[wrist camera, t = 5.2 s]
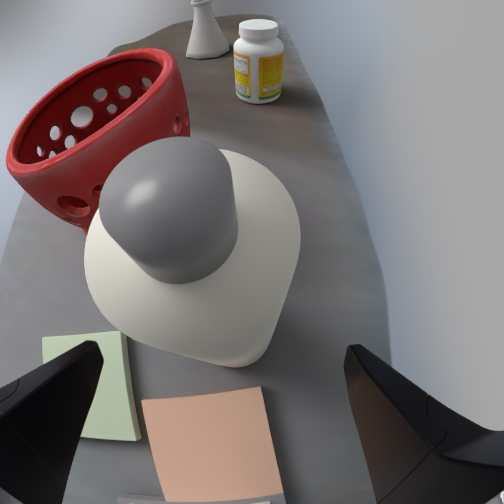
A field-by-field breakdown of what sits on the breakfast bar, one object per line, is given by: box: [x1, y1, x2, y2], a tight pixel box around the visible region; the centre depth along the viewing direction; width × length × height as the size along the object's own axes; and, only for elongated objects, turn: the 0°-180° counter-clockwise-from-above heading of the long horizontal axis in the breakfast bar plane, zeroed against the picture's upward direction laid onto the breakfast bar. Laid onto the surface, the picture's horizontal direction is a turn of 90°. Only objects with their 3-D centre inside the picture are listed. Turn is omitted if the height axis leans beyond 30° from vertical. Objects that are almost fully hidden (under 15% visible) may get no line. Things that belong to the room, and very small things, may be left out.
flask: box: [186, 0, 229, 59], centre depth 32 cm, size 7×7×10 cm
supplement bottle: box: [234, 19, 284, 104], centre depth 25 cm, size 5×5×10 cm
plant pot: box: [6, 48, 190, 235], centre depth 18 cm, size 13×13×12 cm
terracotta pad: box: [141, 386, 284, 502], centre depth 15 cm, size 8×8×1 cm
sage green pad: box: [42, 331, 142, 441], centre depth 16 cm, size 8×8×1 cm
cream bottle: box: [84, 137, 301, 368], centre depth 12 cm, size 5×5×16 cm
